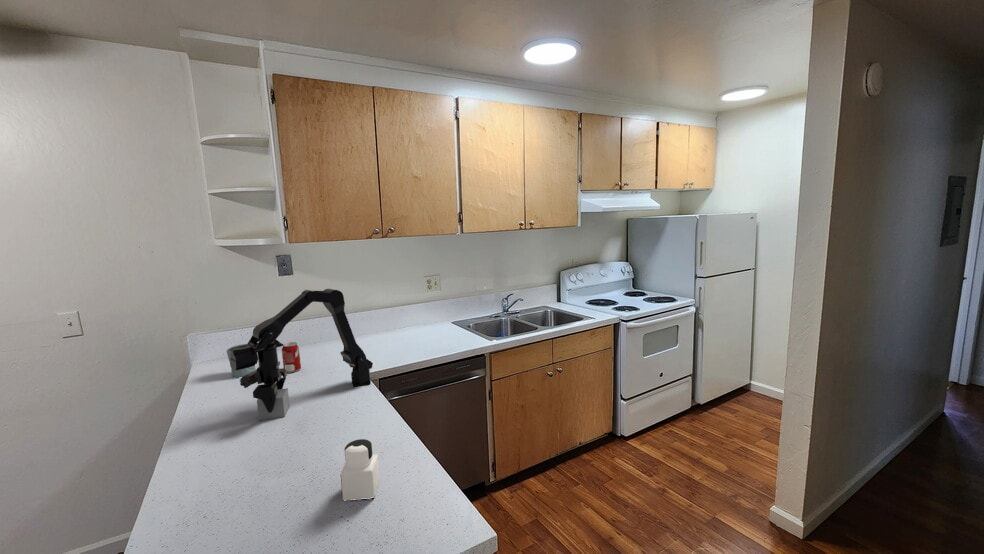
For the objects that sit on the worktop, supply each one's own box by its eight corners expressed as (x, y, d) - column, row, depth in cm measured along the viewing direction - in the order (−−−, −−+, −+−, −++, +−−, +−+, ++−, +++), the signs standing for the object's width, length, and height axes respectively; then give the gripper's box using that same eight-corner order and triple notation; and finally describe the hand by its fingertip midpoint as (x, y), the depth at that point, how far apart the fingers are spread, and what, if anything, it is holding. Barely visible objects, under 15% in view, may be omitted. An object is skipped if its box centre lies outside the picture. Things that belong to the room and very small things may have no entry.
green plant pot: (262, 371, 183) (259, 345, 181) (240, 380, 173) (236, 352, 172) (247, 368, 187) (243, 342, 185) (224, 377, 178) (220, 349, 176)
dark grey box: (289, 406, 146) (287, 388, 145) (284, 416, 139) (282, 397, 138) (265, 410, 144) (263, 391, 143) (259, 420, 137) (256, 400, 136)
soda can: (294, 373, 178) (291, 346, 176) (280, 373, 180) (277, 346, 178) (304, 368, 185) (301, 341, 183) (291, 367, 186) (288, 341, 184)
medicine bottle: (350, 483, 102) (346, 436, 101) (380, 480, 103) (376, 434, 101) (342, 502, 95) (337, 453, 94) (374, 499, 96) (370, 450, 94)
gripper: (250, 356, 146) (255, 398, 148) (231, 375, 128) (237, 423, 130) (284, 352, 149) (289, 394, 151) (271, 370, 131) (277, 417, 133)
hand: (273, 406), depth 141 cm, fingers open, 9 cm apart
